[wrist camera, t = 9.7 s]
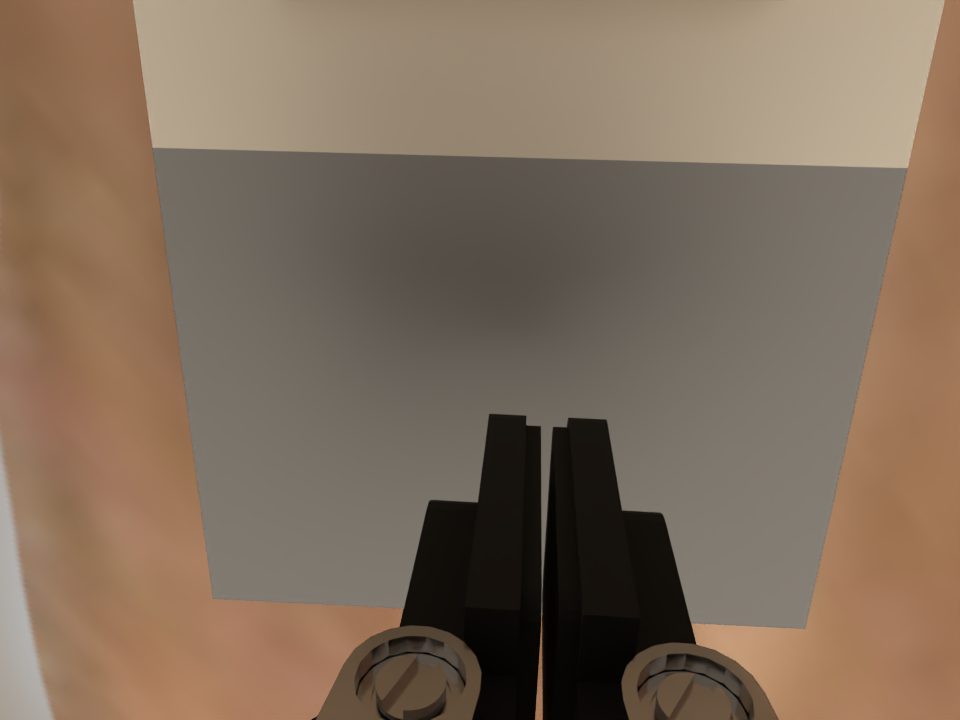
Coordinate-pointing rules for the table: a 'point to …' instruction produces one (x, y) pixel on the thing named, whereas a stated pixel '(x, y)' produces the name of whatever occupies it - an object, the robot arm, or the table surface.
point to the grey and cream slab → (526, 266)
